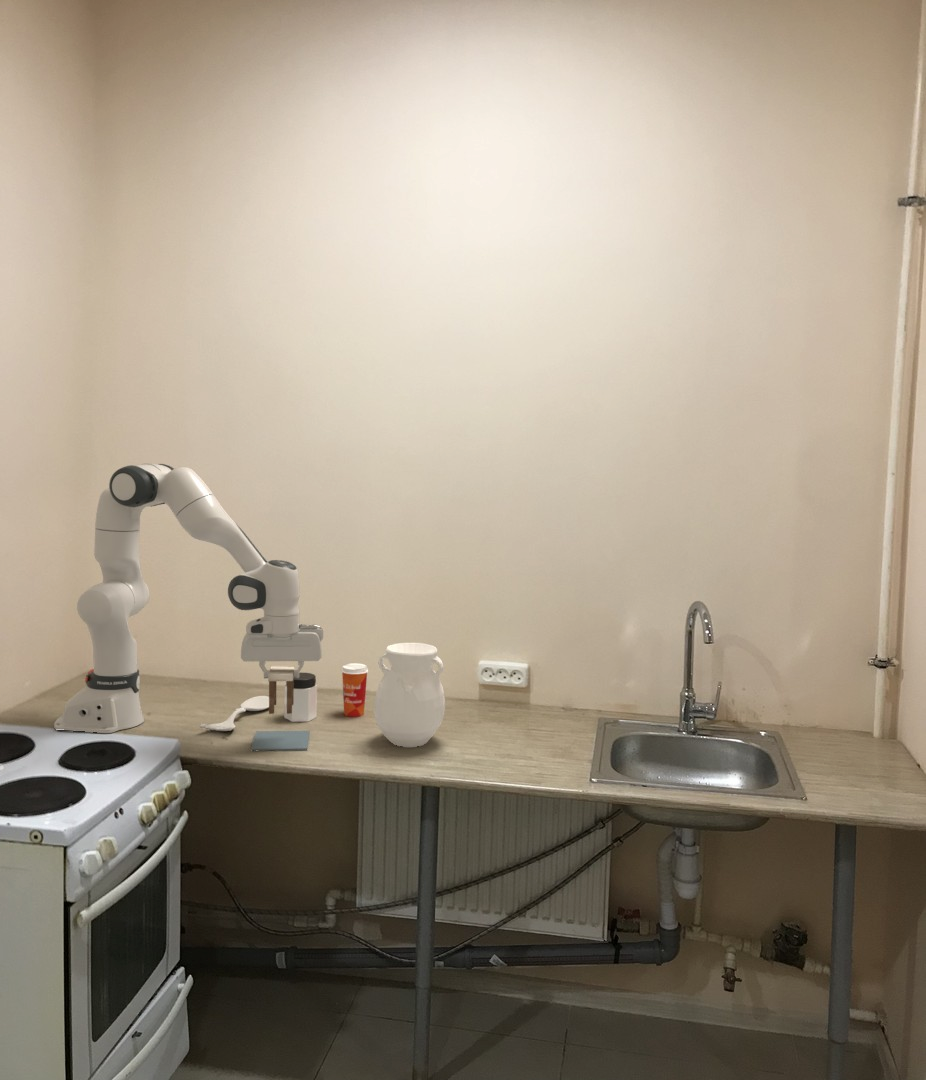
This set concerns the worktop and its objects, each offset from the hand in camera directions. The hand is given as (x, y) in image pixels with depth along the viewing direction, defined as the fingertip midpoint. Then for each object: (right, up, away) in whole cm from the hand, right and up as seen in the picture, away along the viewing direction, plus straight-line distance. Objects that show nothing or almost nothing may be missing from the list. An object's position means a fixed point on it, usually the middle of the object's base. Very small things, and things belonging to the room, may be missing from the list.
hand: (281, 677), depth 235 cm
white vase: (+32, -18, +6) cm, 37 cm away
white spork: (-15, -15, +20) cm, 30 cm away
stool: (0, -8, +1) cm, 8 cm away
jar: (+1, -15, +23) cm, 27 cm away
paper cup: (+15, -15, +28) cm, 35 cm away
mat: (-1, -17, +3) cm, 17 cm away
